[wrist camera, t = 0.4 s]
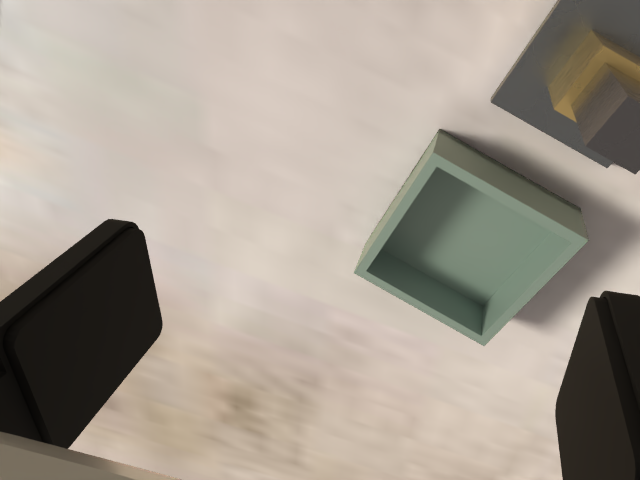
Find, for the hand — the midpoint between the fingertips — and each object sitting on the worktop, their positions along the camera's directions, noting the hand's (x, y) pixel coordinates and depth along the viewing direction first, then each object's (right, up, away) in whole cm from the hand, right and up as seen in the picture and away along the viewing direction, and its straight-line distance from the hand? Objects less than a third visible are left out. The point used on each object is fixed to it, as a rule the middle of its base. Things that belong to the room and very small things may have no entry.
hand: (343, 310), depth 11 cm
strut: (+19, +13, +25) cm, 34 cm away
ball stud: (+19, +13, +26) cm, 35 cm away
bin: (+12, +3, +35) cm, 37 cm away
